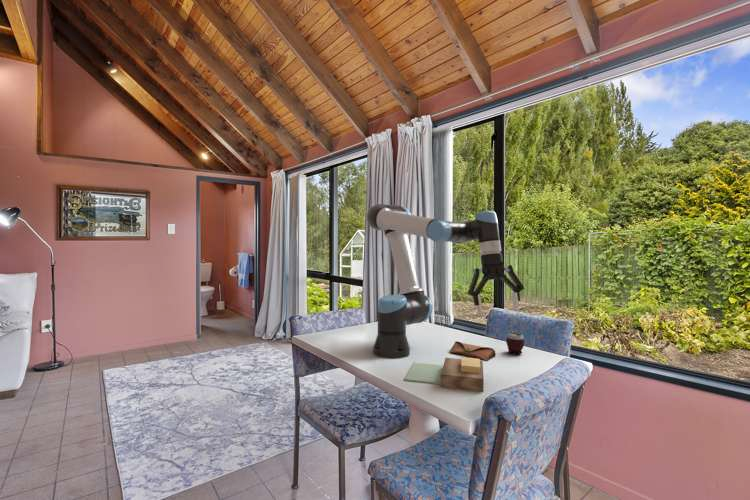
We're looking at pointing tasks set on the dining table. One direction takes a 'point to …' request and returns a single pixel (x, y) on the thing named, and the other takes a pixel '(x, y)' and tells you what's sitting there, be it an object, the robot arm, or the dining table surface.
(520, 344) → the mate gourd
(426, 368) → the mat
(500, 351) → the dining table surface
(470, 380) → the brown piece
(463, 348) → the sunglasses case
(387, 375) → the dining table surface
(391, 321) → the robot arm
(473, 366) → the yellow rectangular block
